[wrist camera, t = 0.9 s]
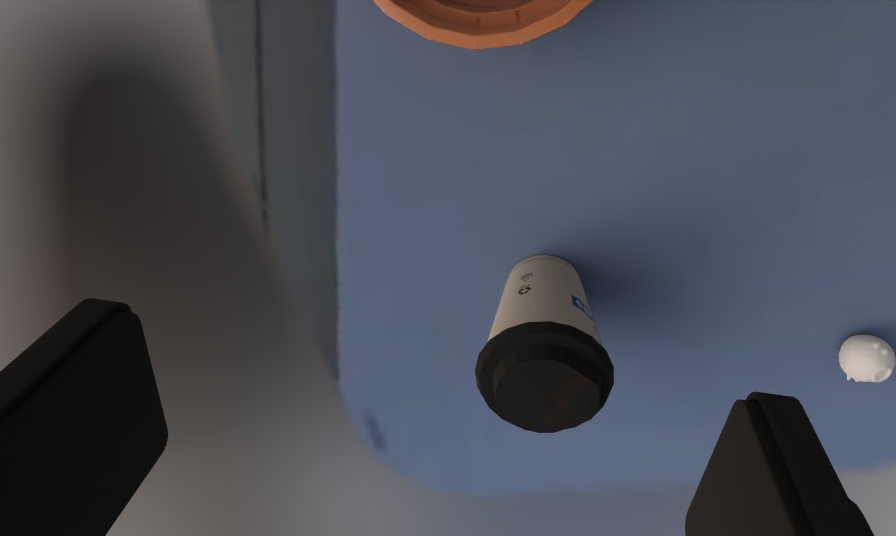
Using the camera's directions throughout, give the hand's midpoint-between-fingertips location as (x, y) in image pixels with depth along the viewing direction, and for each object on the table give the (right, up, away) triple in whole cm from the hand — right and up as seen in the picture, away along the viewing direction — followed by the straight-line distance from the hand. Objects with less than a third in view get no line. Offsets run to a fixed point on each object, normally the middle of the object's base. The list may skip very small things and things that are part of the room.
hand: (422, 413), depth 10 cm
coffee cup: (+6, +1, +28) cm, 29 cm away
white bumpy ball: (+25, -2, +28) cm, 38 cm away
